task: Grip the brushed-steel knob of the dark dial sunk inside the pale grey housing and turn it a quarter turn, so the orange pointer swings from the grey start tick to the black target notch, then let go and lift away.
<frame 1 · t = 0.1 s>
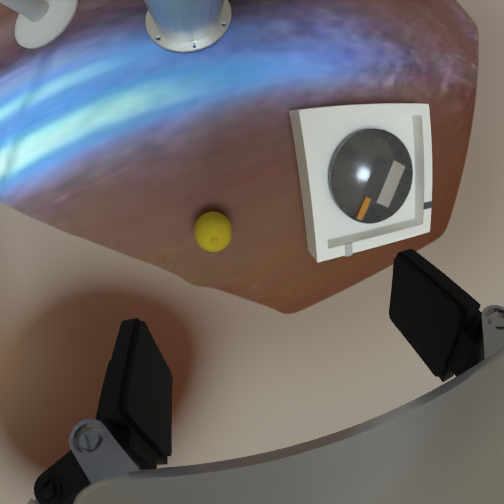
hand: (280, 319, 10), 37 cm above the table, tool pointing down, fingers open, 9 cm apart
candlestick: (46, 15, 26), on the table
dial: (380, 179, 42), point 5 cm above the table, hinge at 0.0°
dial housing: (364, 172, 47), on the table
lemon: (211, 221, 47), on the table
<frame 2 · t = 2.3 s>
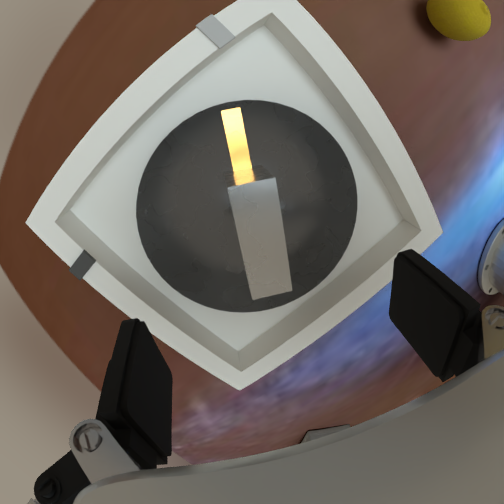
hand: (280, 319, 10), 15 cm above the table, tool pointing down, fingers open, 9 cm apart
skincare box: (324, 433, 43), on the table
dial: (255, 225, 19), point 5 cm above the table, hinge at 0.0°
dial housing: (245, 202, 24), on the table
lemon: (431, 20, 18), on the table
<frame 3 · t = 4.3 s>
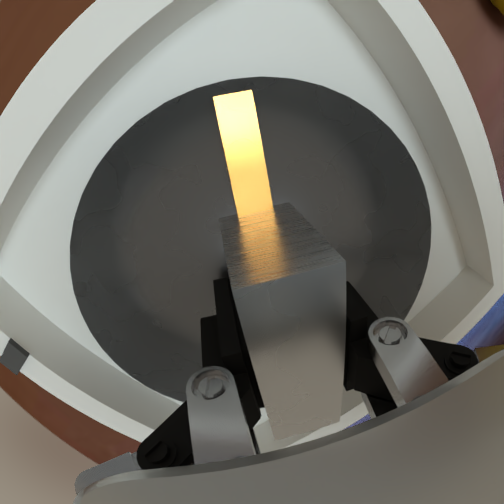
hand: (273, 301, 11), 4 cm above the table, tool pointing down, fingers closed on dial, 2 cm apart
dial: (278, 315, 10), point 5 cm above the table, hinge at 0.0°, touching gripper
dial housing: (253, 252, 15), on the table
lemon: (490, 2, 9), on the table
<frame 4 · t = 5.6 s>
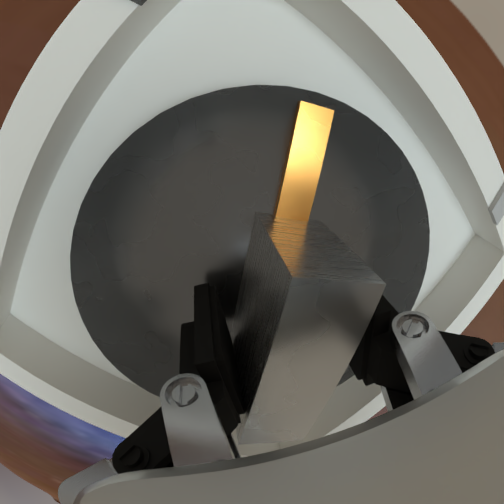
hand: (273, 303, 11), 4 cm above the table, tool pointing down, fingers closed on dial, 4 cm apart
dial: (277, 322, 10), point 5 cm above the table, hinge at 58.1°, touching gripper
dial housing: (253, 257, 15), on the table
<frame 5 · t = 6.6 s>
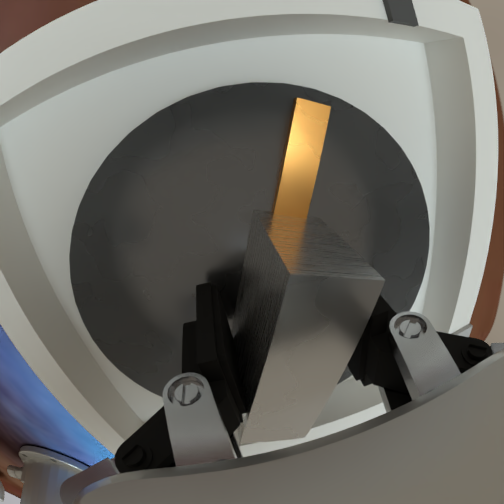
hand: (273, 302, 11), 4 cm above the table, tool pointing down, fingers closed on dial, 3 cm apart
dial: (277, 320, 10), point 5 cm above the table, hinge at 99.4°, touching gripper
dial housing: (252, 255, 15), on the table
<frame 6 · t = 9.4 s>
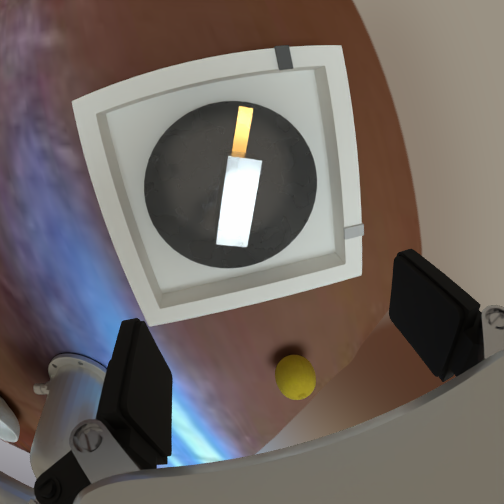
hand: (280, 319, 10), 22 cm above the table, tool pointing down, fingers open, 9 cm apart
dial: (234, 193, 25), point 5 cm above the table, hinge at 100.1°
dial housing: (229, 180, 30), on the table
lemon: (288, 356, 42), on the table
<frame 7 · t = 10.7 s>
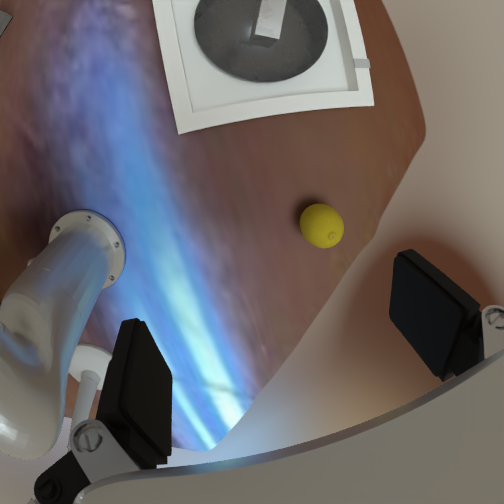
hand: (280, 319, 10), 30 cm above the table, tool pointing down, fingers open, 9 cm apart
candlestick: (93, 366, 48), on the table
dial: (266, 17, 25), point 5 cm above the table, hinge at 100.1°
dial housing: (258, 30, 29), on the table
lemon: (310, 215, 42), on the table
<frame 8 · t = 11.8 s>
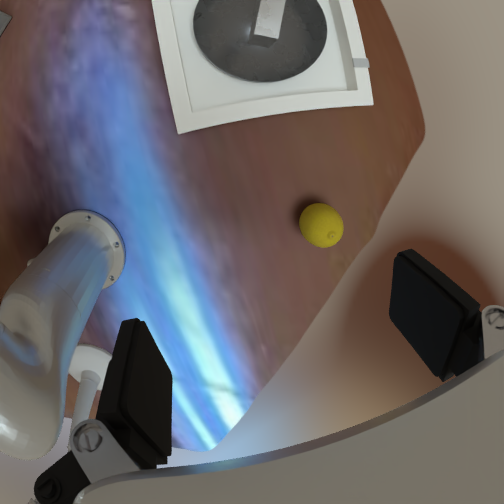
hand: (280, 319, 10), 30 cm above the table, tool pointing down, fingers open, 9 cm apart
candlestick: (94, 366, 48), on the table
dial: (265, 17, 25), point 5 cm above the table, hinge at 100.1°
dial housing: (257, 29, 30), on the table
lemon: (310, 214, 42), on the table
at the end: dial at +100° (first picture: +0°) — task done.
